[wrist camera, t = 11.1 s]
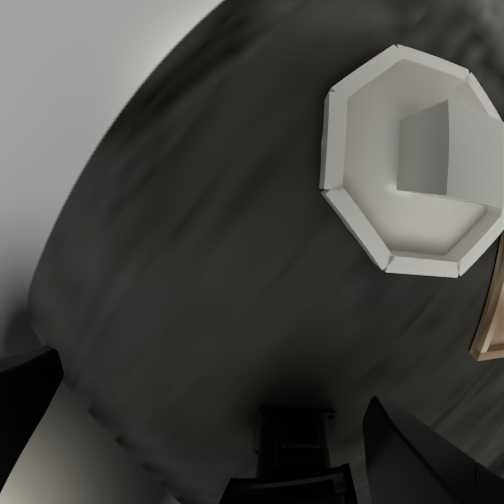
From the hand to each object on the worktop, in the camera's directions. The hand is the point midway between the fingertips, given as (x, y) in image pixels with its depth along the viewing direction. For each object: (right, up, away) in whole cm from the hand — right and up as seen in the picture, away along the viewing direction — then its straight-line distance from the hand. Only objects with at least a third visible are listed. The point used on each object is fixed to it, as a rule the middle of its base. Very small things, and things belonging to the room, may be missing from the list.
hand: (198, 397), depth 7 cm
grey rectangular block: (+12, +10, +9) cm, 18 cm away
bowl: (+13, +10, +10) cm, 18 cm away
